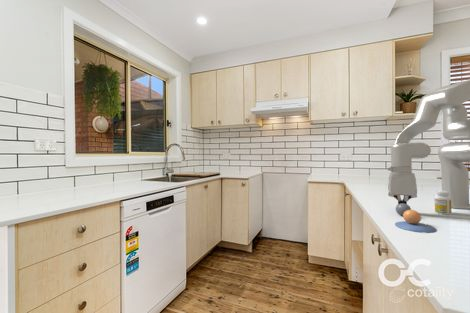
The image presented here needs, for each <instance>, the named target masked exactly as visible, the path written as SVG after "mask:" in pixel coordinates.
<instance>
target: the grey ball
mask: <svg viewBox="0 0 470 313" xmlns="http://www.w3.org/2000/svg"><path fill="white" fill-rule="evenodd" d="M407 210H412V208H411V206H410V205H409V204H408V203H407V204H404V203H400V204H398V203H397V205H396V206H395V212H396V213H397V214H398V215H399V216H402V217H403V213H404V212H405V211H407Z"/></svg>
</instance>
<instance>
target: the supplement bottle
mask: <svg viewBox="0 0 470 313" xmlns="http://www.w3.org/2000/svg"><path fill="white" fill-rule="evenodd" d="M448 195H449V192H446V191H442V190H438V191H436V195H435V196H434V212H435V213H436V214H439V215H452V208H451V198H450V197H448Z"/></svg>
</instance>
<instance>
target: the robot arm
mask: <svg viewBox="0 0 470 313" xmlns="http://www.w3.org/2000/svg"><path fill="white" fill-rule="evenodd" d="M469 100H470V79H468V80H463V81H459V82H456V83H453V84H448V85H445V86H441V87H438V88H435V89H434V90H432V92H429V93H427V94H424V95H423V96H422V97H421V98H420V101H419V103H418V105H417V109H416V111H415V113H414V116H413V120H412V122H411V123H409V124H408V125H407V126H406V127H405V128H403V130H402V131H401V132H400V133H398V135H397V137H396V139H395V141H394V143H393V144H391V146H390V167H387V171H388V172H389V171H390V173H389V175H388V183H387V184H388V190H387V191H388V193H387V196H388V197H391V198H394V199H395V200H396V201H397V205H398V204H400V203H404V204H407V205H408V203H407V202H408V201H409V200H411V199H415V198H418V188H417V186H418V184H417V180H416V174H415V173H414V172H413V167H412V165H413V164H412V163H413V162H412V160H415V159H416V160H418V159H425V158H427V157H429V156H430V154H431V152H432V149H431V146H430V145H429V144H427V143H425V142H411V141H412V140H413V139H414V138H415V137H416V136H418V135H420V134H423V133H425V132H427V131H429V130H431V129H432V128H434V127H435V126H436V123H437V121H438V118H439V116H440V113H441V112H442V137H443V138H444V139H446V140H448V141H459V140H460V141H461V140H463V141H464V140H470V118H468V110H467V109H468V108H466V106H465V105H464V104H465V103H466V102H468V101H469ZM463 103H464V104H463ZM437 155H438V158H439V162H440V169H441V191H446V192H449V195H448V197H450V198H451V209H458V210H459V209H460V210H461V209H462V210H470V180H469V179H470V176H469V174H470V173H469V170H468V168H467V166H466V165H465V164H464V163H470V141H468V142H467V141H466V142H465V141H464V142H448V143H444V144H442V145H441V146H439V148H438V151H437ZM401 196H403V199H402V197H401Z"/></svg>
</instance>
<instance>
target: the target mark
mask: <svg viewBox="0 0 470 313" xmlns="http://www.w3.org/2000/svg"><path fill="white" fill-rule="evenodd" d="M425 224H426V223H421V222H419V223H417V224H410V223H408V222H406V221H405V220H403V221H397V222H395V223H394V225H395V227H397V228H399V229H402V230H405V231H409V232H414V233H422V232H426V233H427V234H428V233H435V232H437V228H436V227H434V226H432V225H429V224H426V225H425Z"/></svg>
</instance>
